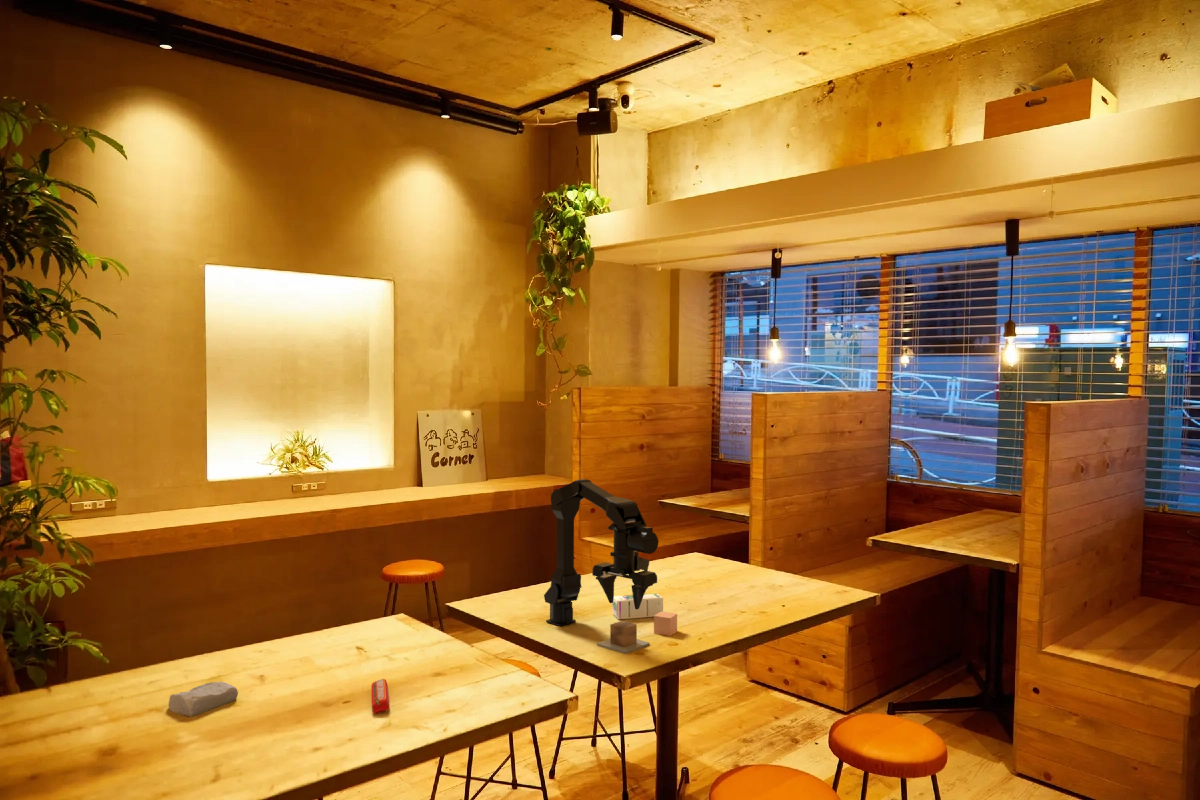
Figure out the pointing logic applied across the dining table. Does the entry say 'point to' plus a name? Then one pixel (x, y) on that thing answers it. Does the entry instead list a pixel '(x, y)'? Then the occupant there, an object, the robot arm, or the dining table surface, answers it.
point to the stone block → (202, 698)
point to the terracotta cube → (665, 623)
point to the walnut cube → (623, 633)
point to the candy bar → (380, 696)
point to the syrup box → (648, 607)
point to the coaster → (623, 649)
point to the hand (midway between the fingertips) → (624, 605)
